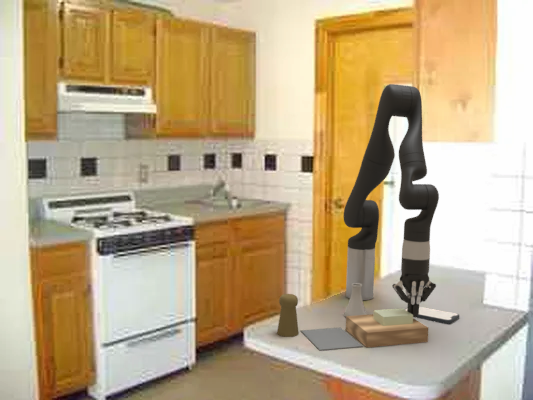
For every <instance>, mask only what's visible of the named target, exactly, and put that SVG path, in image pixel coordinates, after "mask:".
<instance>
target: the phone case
mask: <svg viewBox="0 0 533 400" xmlns="http://www.w3.org/2000/svg"><path fill="white" fill-rule="evenodd" d="M403 309H404V310H406V311H407V307H406V308H403ZM417 319H422V320H427V321H431V322H434V321H435V322H436V323H438V324H439V323H440V324H444V325H452V324H453V323H455V322H456V321H458V320H459V319H460V314H459V313H454V312H451V311H446V310H438V309H433V308H428V307H423V306H419V314H418V315H417Z"/></svg>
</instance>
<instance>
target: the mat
mask: <svg viewBox="0 0 533 400" xmlns="http://www.w3.org/2000/svg"><path fill="white" fill-rule="evenodd" d="M300 332H301V333H302V334H303V336H305V337H306V339H308V341H310V342H311V344H313V346H314V347H316V349H318V351H320V352H323V351H332V350H334V351H335V350H343V349H357V348H363V347H364V345H362V343H361V342H360V341H358V340H357V339H356V338H355V337H354V336H351V334H350V333H349V332H348V331H346V330H345V329H343V328H342V327H339V326H338V327H327V328H315V329H303V330H300Z"/></svg>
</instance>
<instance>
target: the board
mask: <svg viewBox="0 0 533 400" xmlns="http://www.w3.org/2000/svg"><path fill="white" fill-rule="evenodd" d="M345 331H346V332H347V333H348V334H349V335H350V336H351V335H352V337H353V338H354V339H355V340H356V341H358V342H359V343H360V344H361V345H362V344H363V345H362V346H364V347H366V348H374V347H375V348H376V347H384V346H397V345H398V344H399V345H408V344H419V343H420V344H421V343H428V341H429V327H428V326H427V325H425V324H424V323H422V322H421V321H419V320H416V319H415V317H413V324H401V325H388V326H382V325H381V324H380V323H378V322H377V321H375V320H374V319H373V313H372V314H367V315H355V316H346V317H345ZM399 345H398V346H399Z"/></svg>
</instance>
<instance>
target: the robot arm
mask: <svg viewBox="0 0 533 400" xmlns="http://www.w3.org/2000/svg"><path fill="white" fill-rule="evenodd" d="M422 106H423V105H422V96H421V92H420V90H419V89H418V87H415V86H410V85H402V84H395V83H394V84H393V83H390V84H387V85H386V86H384V88H383V90H382V92H381V95H380V96H379V102H378V106H377V111H376V115H375V119H374V123H373V128H372V130H371V131H372V132H371V135H370V138H369V140H368V143H367V146H366V149H365V151H364V154H363V158H362V160H361V165H360V168H359V171H358V174H357V177H356V180H355V182H354V185H353V187H352V190H351V192H350V194H349V196H348V198H347V201H346V203H345V206H344V210H343V222H344V224H345V225H346V226H347V227H348V228H352V229H357V228H358V229H360V230H359V232H357V233H356V234H354V235H352V236H350V237H349V238H348V240H347V255H346V257H347V259H346V266H347V267H346V284H345V286H346V287H345V288H346V291H345V296H346V298H349V299H350V298H351V294H352V284H353V283H359V284H362V287H361V296H362V300H363V301H368V300H373V298H374V288H375V285H374V284H375V264H376V263H375V261H376V243H377V240H378V234H379V224H380V223H379V222H380V210H379V205H378V204H377V202H376V201H375V200H371V199H367V198H368V197H369V195H370V194H371V193H372V192H373V191H374V190H375V189H376V188H377V187H378V186H379V185H380V184H382V182H383V181H384V180H386V178H387V177H388V175H390V174H389V173H390V172H391V168H392V165H393V163H394V159H395V156H396V154H395V148H394V145H393V141H392V139H391V135H390V131H389V128H390V122H391V119H392V117H398V118H406V120H407V131H406V132H405V134H404V137H403V139H402V141H401V142H400V145H399V149H398V159H399V167H400V173H401V175H400V188H399V192H398V193H399V194H398V202H399V205H400V206H401V207H402V208H403V209H404V210H408V211H413V210H415V211H417V210H418V211H420V210H421V211H420V213H419V214H417V216H414V217H409V218H407V219H405V221H404V224H403V225H404V226H403V241H402V245H401V246H402V247H401V266H400V271H401V275H400V277H399V281H398V282H397V283H393V284H392V288H393V290H394V292H396V294H397V295H398V297H399V298H400V300H401V301H403V302H405V303H407V306H406V308H407V311H408V312H409V313H411V314H413V318H416V317H417V315H418V314H419V307H420V304H421V303H422V302H426V301H427V299H428V298H429V297H430V295H432V293H433V291H434V290H435V289H436V287H437V284H436V283H434V282H432V281H431V280H430V276H429V272H430V262H431V261H430V259H431V244H430V242H431V241H430V240H431V239H430V238H431V226H432V222H433V218H434V214H435V212H436V209H437V207H438V204H439V198H440V197H439V195H440V194H439V191H438V189H437V187H436V186H435V185H433V184H431V183H429V184H428V183H427V184H426V183H424V184H419V183H418V184H417V183H413V182H415V181H420V180H422V179H424V178H426V176H427V174H428V168H427V163H426V156H425V152H424V144H423V107H422ZM404 289H405V292H404Z"/></svg>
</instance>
